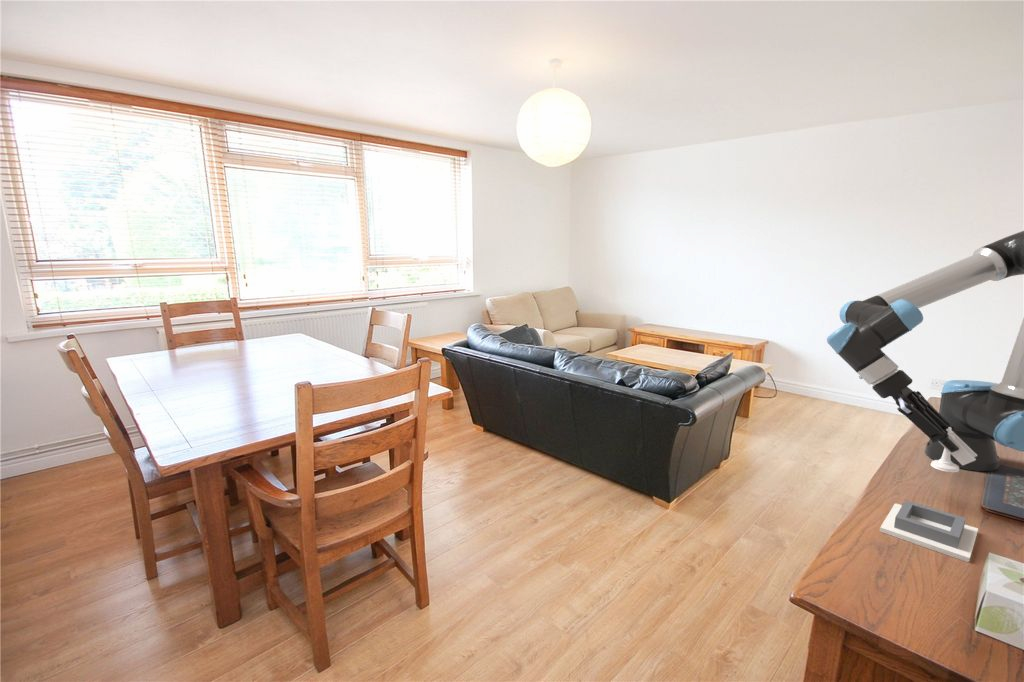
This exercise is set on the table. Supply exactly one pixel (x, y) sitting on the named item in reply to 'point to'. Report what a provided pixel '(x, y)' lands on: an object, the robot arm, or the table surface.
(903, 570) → the table surface
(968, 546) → the socket board
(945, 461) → the chess piece
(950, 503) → the table surface
